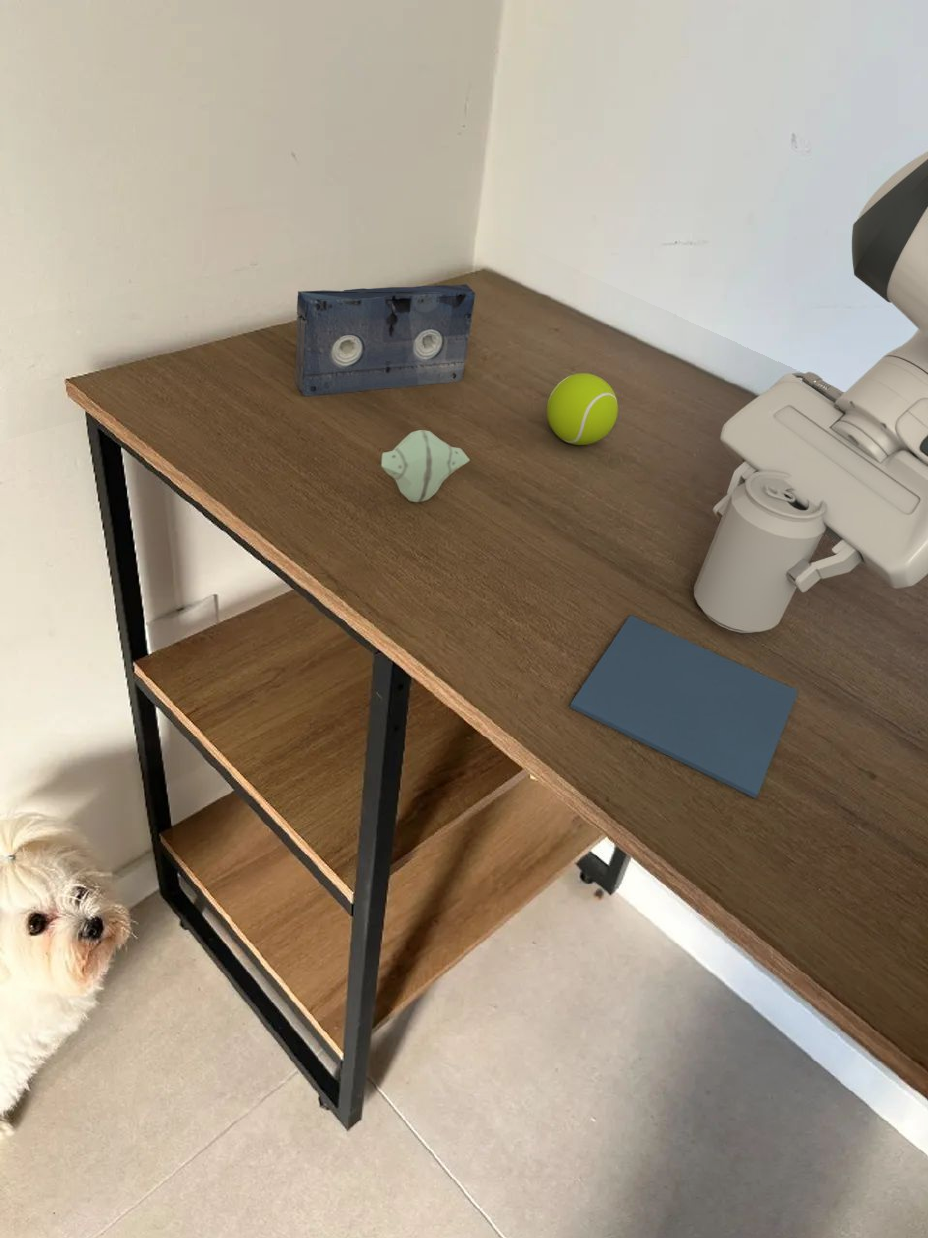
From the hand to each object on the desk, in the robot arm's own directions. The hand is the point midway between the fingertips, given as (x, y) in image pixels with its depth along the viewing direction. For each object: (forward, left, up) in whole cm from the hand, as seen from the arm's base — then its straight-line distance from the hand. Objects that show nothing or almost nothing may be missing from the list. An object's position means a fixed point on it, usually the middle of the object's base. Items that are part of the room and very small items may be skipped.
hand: (755, 550), depth 74 cm
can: (0, -1, -7) cm, 7 cm away
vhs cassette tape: (+43, -13, -7) cm, 45 cm away
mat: (0, +12, -6) cm, 14 cm away
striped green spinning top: (+29, +3, -7) cm, 30 cm away
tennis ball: (+22, -17, -7) cm, 28 cm away
